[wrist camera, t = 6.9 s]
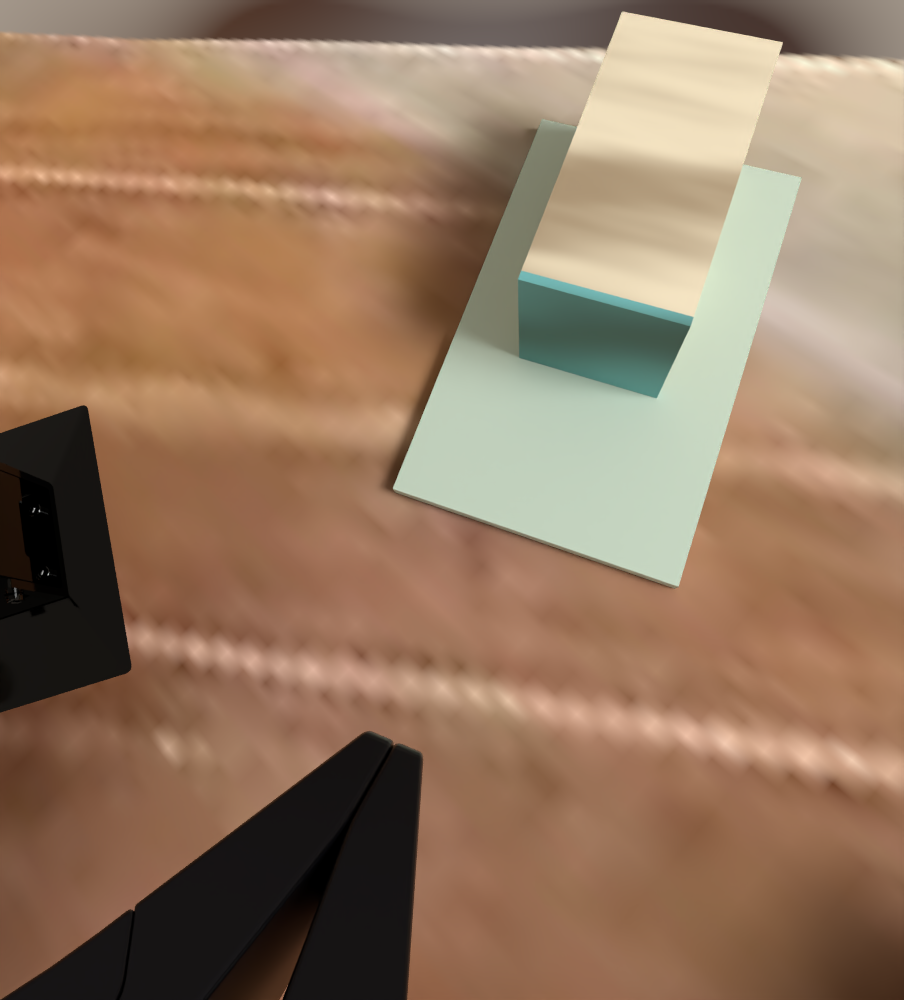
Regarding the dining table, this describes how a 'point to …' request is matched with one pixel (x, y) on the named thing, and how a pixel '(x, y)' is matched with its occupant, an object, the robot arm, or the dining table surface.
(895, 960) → the dining table surface
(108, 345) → the dining table surface
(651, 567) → the mat
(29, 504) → the black boxy device
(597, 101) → the maple block
